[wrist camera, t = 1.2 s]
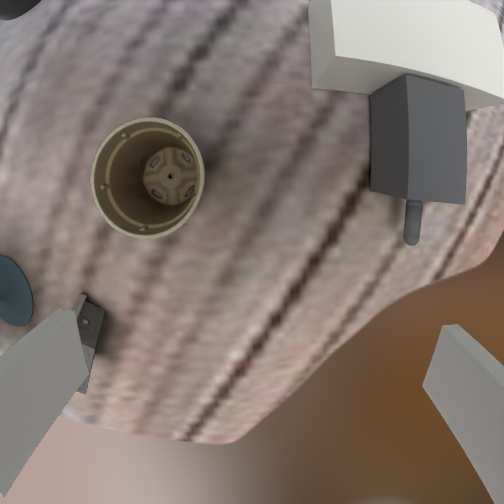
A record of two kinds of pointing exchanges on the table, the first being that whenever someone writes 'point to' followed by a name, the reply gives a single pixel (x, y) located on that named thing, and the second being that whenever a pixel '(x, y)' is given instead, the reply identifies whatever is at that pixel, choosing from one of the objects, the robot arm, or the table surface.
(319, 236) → the table surface
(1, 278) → the cocktail glass
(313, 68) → the white rectangular block
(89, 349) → the electrical switch
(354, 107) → the table surface
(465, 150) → the plug
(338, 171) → the table surface
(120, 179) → the flower pot
